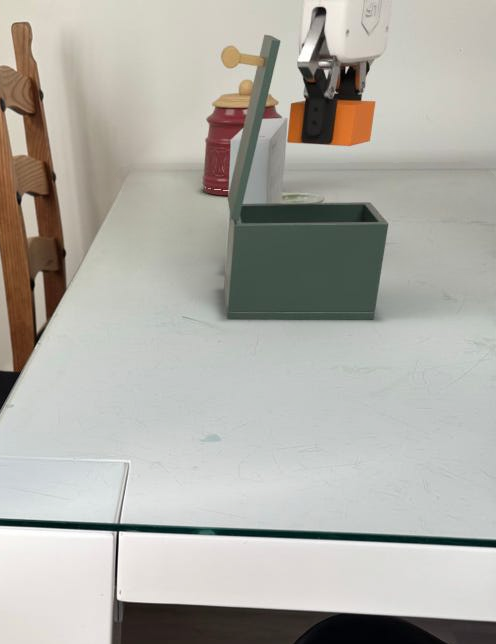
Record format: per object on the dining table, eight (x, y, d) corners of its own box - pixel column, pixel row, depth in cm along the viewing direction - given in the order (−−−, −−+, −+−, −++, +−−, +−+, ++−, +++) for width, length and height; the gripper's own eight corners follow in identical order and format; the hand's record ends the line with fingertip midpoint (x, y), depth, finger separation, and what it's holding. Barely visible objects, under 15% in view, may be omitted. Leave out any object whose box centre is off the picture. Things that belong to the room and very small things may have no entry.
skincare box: (241, 241, 145) (251, 117, 136) (279, 242, 143) (292, 117, 134) (219, 274, 128) (230, 136, 119) (263, 276, 126) (276, 136, 118)
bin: (357, 290, 119) (370, 202, 113) (373, 319, 108) (388, 223, 103) (223, 290, 121) (230, 203, 116) (227, 319, 110) (234, 224, 105)
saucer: (269, 206, 167) (271, 191, 165) (328, 209, 163) (330, 193, 161) (253, 217, 159) (254, 200, 158) (314, 220, 156) (316, 203, 154)
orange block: (370, 141, 102) (375, 101, 100) (350, 146, 99) (355, 105, 97) (307, 137, 106) (312, 99, 104) (286, 142, 103) (290, 103, 101)
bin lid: (271, 35, 106) (225, 28, 107) (280, 40, 96) (229, 32, 96) (234, 200, 115) (191, 193, 116) (238, 220, 105) (191, 213, 105)
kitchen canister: (287, 193, 176) (299, 79, 167) (218, 199, 174) (226, 83, 165) (256, 183, 187) (265, 75, 178) (191, 188, 185) (197, 79, 175)
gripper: (350, -85, 85) (322, 152, 95) (432, -80, 95) (399, 133, 105) (272, -78, 89) (253, 148, 99) (359, -75, 100) (334, 129, 110)
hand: (329, 138), depth 102 cm, fingers closed on orange block, 4 cm apart
